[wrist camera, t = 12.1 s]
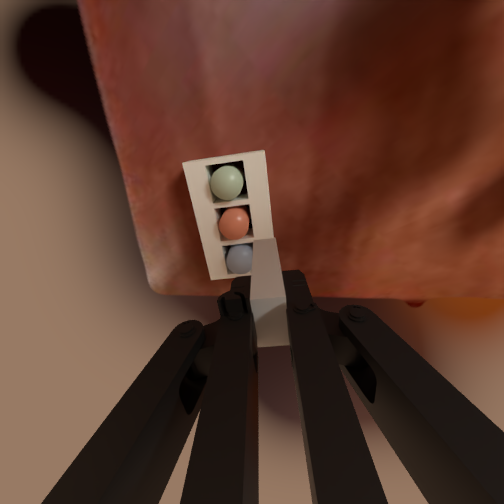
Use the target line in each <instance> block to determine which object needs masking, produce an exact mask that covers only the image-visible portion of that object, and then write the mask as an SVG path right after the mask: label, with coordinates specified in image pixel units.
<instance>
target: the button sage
mask: <svg viewBox="0 0 504 504" xmlns="http://www.w3.org/2000/svg"><path fill="white" fill-rule="evenodd" d="M244 180H245V177H244V173H243V171H242V170H241V168H240V167H238V166H237V165H235V164H226V165H224V166H222V167H221V168H219V169H218V170H216V171H215V172H214V173H213V175H212V177H211V181H210V185H211V189H212V191H213V193H214V194H215V195H216V196H217V197H218V198H220V199H223V200H231V199H234V198H236V197H237V196H238V195H239V194H240V192H241V189H242V187H243V184H244Z"/></svg>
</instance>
